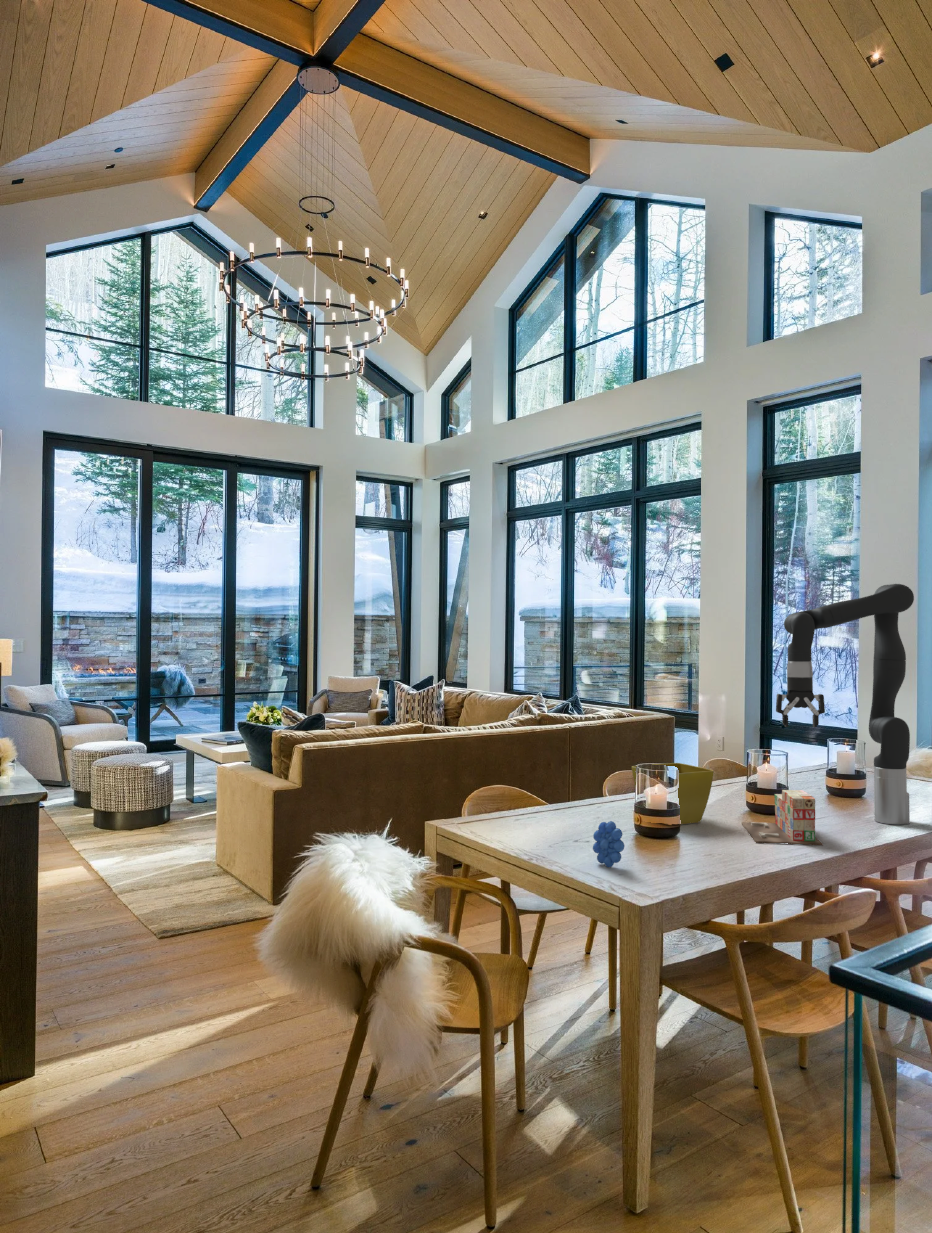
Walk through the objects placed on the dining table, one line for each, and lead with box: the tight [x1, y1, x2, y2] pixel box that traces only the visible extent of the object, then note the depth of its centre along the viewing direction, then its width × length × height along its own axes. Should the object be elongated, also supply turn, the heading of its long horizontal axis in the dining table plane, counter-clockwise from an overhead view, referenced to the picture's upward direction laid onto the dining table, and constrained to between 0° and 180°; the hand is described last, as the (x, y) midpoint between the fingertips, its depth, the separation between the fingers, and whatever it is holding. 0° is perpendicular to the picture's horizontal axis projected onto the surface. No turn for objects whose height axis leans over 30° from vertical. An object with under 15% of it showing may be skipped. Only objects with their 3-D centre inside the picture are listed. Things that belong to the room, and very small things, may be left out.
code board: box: [741, 821, 824, 846], centre depth 246 cm, size 18×24×1 cm
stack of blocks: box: [774, 789, 816, 841], centre depth 246 cm, size 21×6×12 cm, turn 173°
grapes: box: [592, 820, 625, 868], centre depth 213 cm, size 12×7×12 cm, turn 29°
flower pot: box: [631, 762, 714, 825], centre depth 265 cm, size 19×19×17 cm
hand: (800, 726), depth 262 cm, fingers open, 8 cm apart
